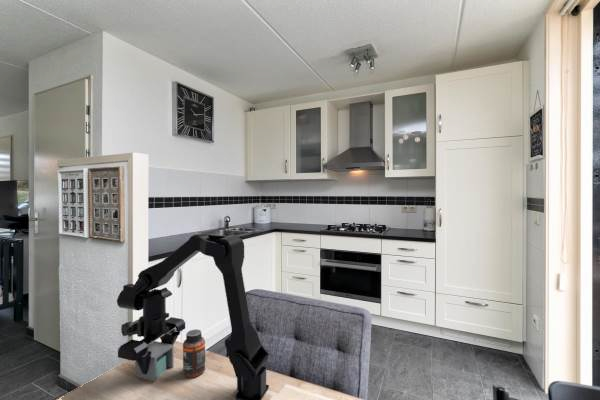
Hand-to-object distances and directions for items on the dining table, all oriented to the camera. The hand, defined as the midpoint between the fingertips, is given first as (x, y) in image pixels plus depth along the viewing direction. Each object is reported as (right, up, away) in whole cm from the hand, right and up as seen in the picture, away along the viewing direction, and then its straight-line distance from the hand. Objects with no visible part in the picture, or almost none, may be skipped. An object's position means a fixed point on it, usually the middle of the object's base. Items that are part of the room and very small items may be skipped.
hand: (155, 366), depth 82 cm
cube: (0, -2, 0) cm, 2 cm away
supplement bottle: (+11, -2, 0) cm, 11 cm away
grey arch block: (0, -2, 0) cm, 2 cm away
